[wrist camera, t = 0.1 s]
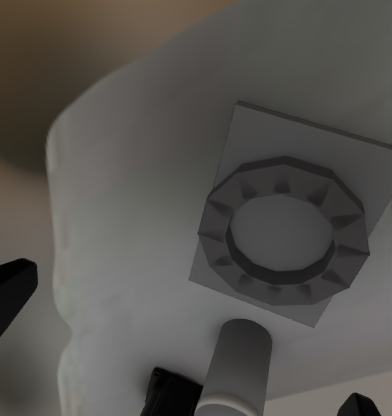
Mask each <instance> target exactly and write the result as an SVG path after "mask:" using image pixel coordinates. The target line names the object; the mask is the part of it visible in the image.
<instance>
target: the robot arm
mask: <svg viewBox="0 0 392 416" xmlns="http://www.w3.org/2000/svg"><path fill="white" fill-rule="evenodd" d="M37 285H38V275H37V265H36V263H35V262H33V261H30V260H28V259H25V258H21V259H17V260H14V261H11V262H8V263H5V264H2V265H0V337H1V335H2V334H3V333H4V332H5V330H6V329H7V328H8V326H9V325H10V324H11V322H12V321H13V320H14V318H15V317H16V316H17V314H18V313H19V312H20V310H21V309H22V308H23V306H24V305H25V304H26V302H27V301H28V300H29V298H30V297H31V296H32V294H33V293H34V291H35V290H36V288H37ZM202 390H203V388H202V387H200V386H198V385H195V384H193V383H191V382H188V381H186V380H184V379H181V378H179V377H177V376H174V375H172V374H170V373H168V372H165V371H163V370H161V369H158V368H154V370H153V372H152V375H151V379H150V383H149V387H148V392H147V396H146V400H145V406H144V408H143V410H142V412H141V415H140V416H194V414H195V410H196V407H197V404H198V401H199V400H200V396H201V393H202ZM337 416H381V415H380V413H379V411H378V409H377V407H376V406H375V404H374V402H373V401H372V400H371V399H370V398H368V397H366V396H363V395H361V394H359V393H352V394H351V395H350V396H349V397H348V399H347V400H346V401H345V402H344V404H343V405H342V406H341V407H340V409H339V411H338V413H337Z"/></svg>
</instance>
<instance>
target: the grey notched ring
mask: <svg viewBox="0 0 392 416" xmlns="http://www.w3.org/2000/svg"><path fill="white" fill-rule="evenodd" d="M391 198H392V145H389V144H385V143H382V142H378V141H375V140H371V139H368V138H364V137H361V136H357V135H354V134H351V133H347V132H344V131H340V130H337V129H333V128H330V127H326V126H323V125H319V124H316V123H313V122H309V121H306V120H302V119H299V118H295V117H292V116H288V115H285V114H281V113H278V112H274V111H271V110H268V109H264V108H261V107H257V106H254V105H250V104H247V103H243V102H240V101H239V102H238V103H237V104H236V105H235V109H234V112H233V116H232V120H231V123H230V127H229V131H228V135H227V138H226V142H225V146H224V150H223V153H222V157H221V161H220V165H219V168H218V172H217V176H216V180H215V183H214V187H213V190H212V191H211V193H210V194H209V196H208V198H207V199H206V204H205V208H204V212H203V216H202V220H201V223H200V227H199V231H198V235H199V238H200V240H199V243H198V247H197V251H196V254H195V258H194V262H193V266H192V269H191V273H190V277H189V280H190V281H192V282H195V283H198V284H200V285H203V286H206V287H208V288H211V289H213V290H216V291H219V292H221V293H224V294H226V295H229V296H232V297H234V298H237V299H239V300H242V301H245V302H247V303H250V304H252V305H255V306H258V307H260V308H263V309H265V310H268V311H271V312H273V313H276V314H279V315H281V316H284V317H286V318H289V319H292V320H294V321H297V322H299V323H302V324H305V325H307V326H310V327H312V328H314V327H315V325H316V323H317V322H318V320H319V318H320V317H321V315H322V313H323V312H324V310H325V308H326V307H327V305H328V303H329V302H330V300H331V298H332V297H333V295H335V294H337V293H339V292H341V291H343V290H345V289H347V288H349V287H350V285H351V283H352V282H353V280H354V279H355V277H356V275H357V274H358V272H359V271H360V269H361V267H362V266H363V264H364V263H365V261H366V259H367V258H368V256H370V252H369V247H368V237H369V235H370V233H371V232H372V230H373V228H374V227H375V225H376V223H377V222H378V220H379V218H380V217H381V215H382V213H383V212H384V210H385V208H386V207H387V205H388V203H389V202H390V200H391Z"/></svg>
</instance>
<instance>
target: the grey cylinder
mask: <svg viewBox="0 0 392 416" xmlns="http://www.w3.org/2000/svg"><path fill="white" fill-rule="evenodd" d="M271 350H272V339H271V336H270V334H269V333H268V331H267V330H266V329H265V328H263V327H262V326H261V325H259V324H257V323H255V322H253V321H250V320H245V319H234V320H230V321H228V322H227V323H225V324H224V325H223V326H222V328H221V331H220V334H219V338H218V341H217V344H216V348H215V351H214V354H213V357H212V361H211V364H210V367H209V370H208V374H207V377H206V380H205V383H204V387H203V390H202V393H201V396H200V400H199V401H198V404H197V407H196V410H195V414H194V416H263V411H264V404H265V396H266V388H267V381H268V373H269V365H270V358H271Z"/></svg>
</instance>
